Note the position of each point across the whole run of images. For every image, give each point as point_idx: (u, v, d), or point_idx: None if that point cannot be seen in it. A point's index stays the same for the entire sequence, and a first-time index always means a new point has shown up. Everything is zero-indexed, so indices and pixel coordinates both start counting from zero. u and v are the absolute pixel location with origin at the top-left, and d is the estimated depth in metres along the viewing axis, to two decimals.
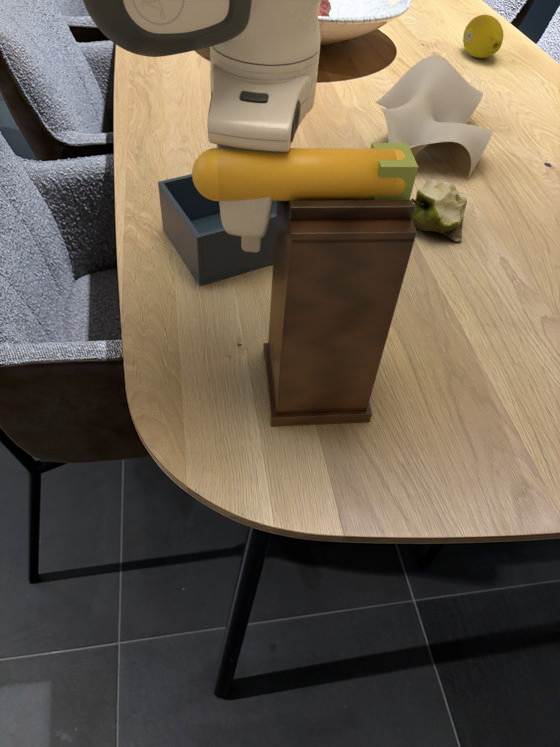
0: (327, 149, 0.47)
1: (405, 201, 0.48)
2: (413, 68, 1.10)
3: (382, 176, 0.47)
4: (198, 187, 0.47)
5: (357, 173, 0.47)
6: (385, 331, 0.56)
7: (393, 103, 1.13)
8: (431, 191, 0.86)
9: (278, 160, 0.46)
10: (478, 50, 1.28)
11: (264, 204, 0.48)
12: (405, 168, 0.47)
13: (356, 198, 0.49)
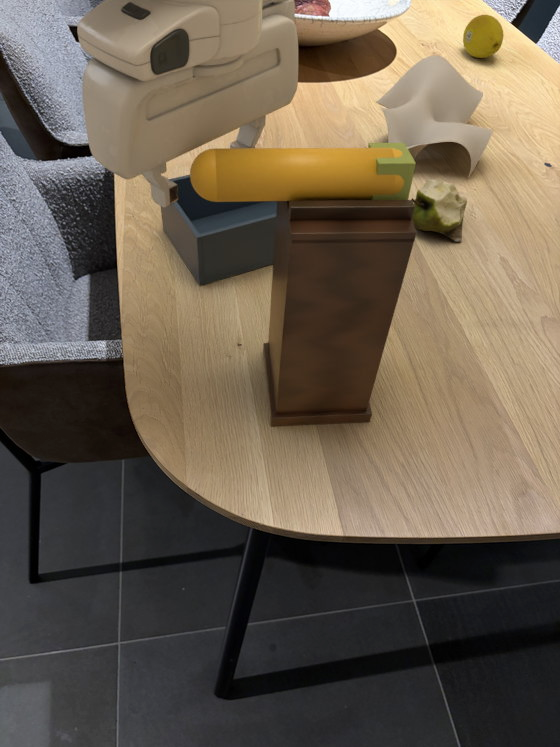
0: (324, 148, 0.47)
1: (405, 201, 0.48)
2: (413, 67, 1.10)
3: (380, 173, 0.47)
4: (197, 187, 0.47)
5: (356, 171, 0.47)
6: (385, 331, 0.56)
7: (393, 103, 1.13)
8: (431, 191, 0.86)
9: (276, 158, 0.46)
10: (478, 50, 1.28)
11: (116, 136, 0.42)
12: (403, 165, 0.47)
13: (355, 197, 0.48)
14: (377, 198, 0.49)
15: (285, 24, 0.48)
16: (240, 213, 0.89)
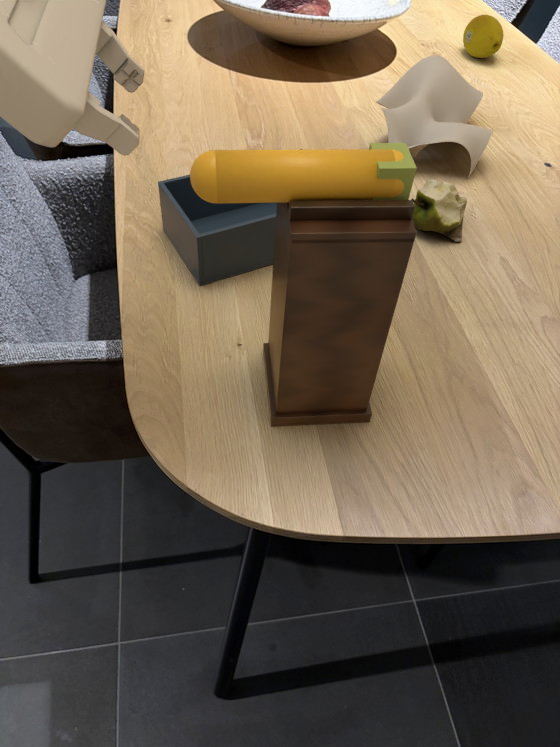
0: (325, 150, 0.47)
1: (405, 201, 0.48)
2: (413, 67, 1.10)
3: (381, 177, 0.47)
4: (197, 190, 0.47)
5: (356, 175, 0.47)
6: (385, 331, 0.56)
7: (393, 103, 1.13)
8: (431, 191, 0.86)
9: (277, 162, 0.46)
10: (478, 50, 1.28)
11: None
12: (404, 169, 0.47)
13: (355, 199, 0.48)
14: None
15: None
16: (240, 213, 0.89)
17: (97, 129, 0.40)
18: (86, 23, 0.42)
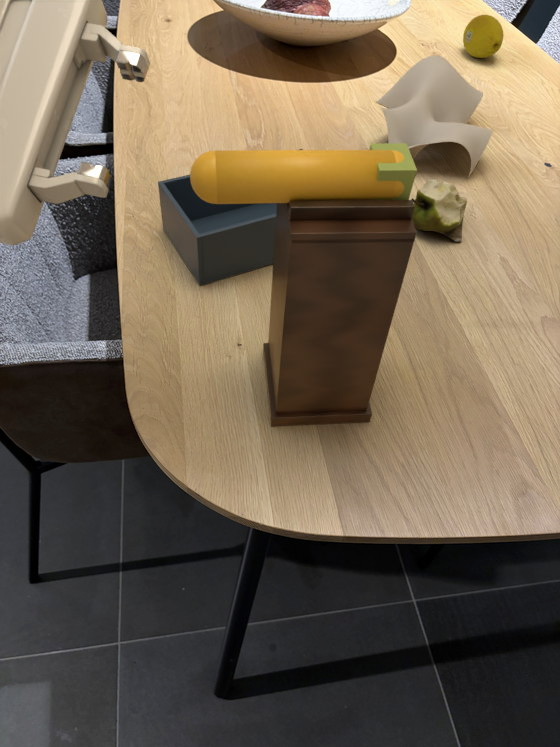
0: (326, 151, 0.47)
1: (405, 201, 0.48)
2: (413, 67, 1.10)
3: (381, 179, 0.47)
4: (197, 191, 0.47)
5: (356, 177, 0.47)
6: (385, 331, 0.56)
7: (393, 103, 1.13)
8: (431, 191, 0.86)
9: (277, 164, 0.46)
10: (478, 50, 1.28)
11: None
12: (404, 171, 0.47)
13: None
14: None
15: None
16: (240, 213, 0.89)
17: (63, 194, 0.41)
18: (43, 70, 0.41)
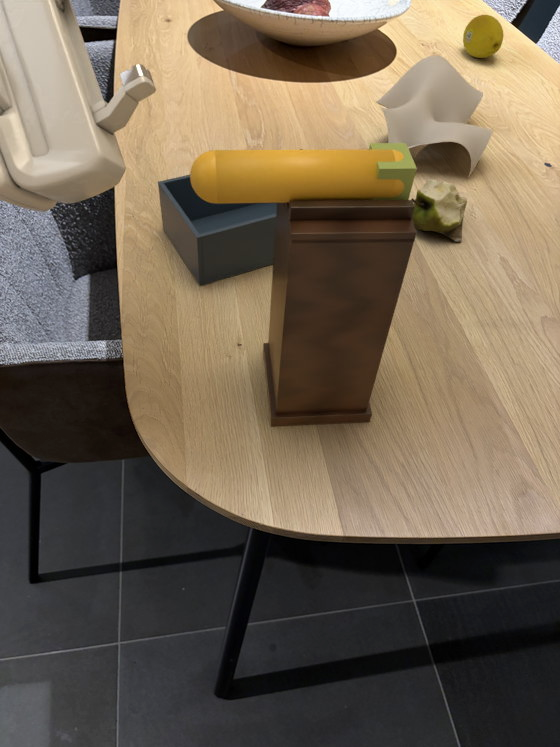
0: (325, 150, 0.47)
1: (405, 201, 0.48)
2: (413, 67, 1.10)
3: (381, 177, 0.47)
4: (197, 190, 0.47)
5: (356, 175, 0.47)
6: (385, 331, 0.56)
7: (393, 103, 1.13)
8: (431, 191, 0.86)
9: (277, 162, 0.46)
10: (478, 50, 1.28)
11: (63, 185, 0.44)
12: (404, 170, 0.47)
13: (355, 199, 0.48)
14: None
15: None
16: (240, 213, 0.89)
17: None
18: None
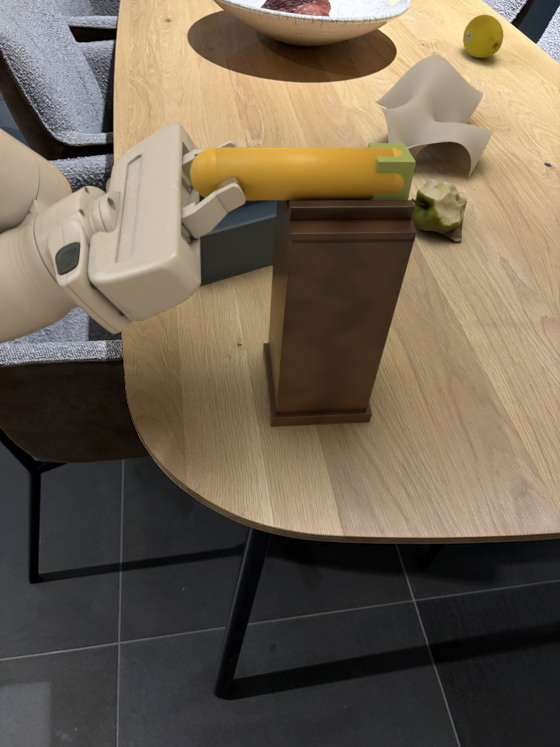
0: (324, 148, 0.48)
1: (405, 201, 0.48)
2: (413, 67, 1.10)
3: (380, 171, 0.47)
4: (196, 185, 0.47)
5: (355, 169, 0.47)
6: (385, 331, 0.56)
7: (393, 103, 1.13)
8: (431, 191, 0.86)
9: (276, 157, 0.46)
10: (478, 50, 1.28)
11: (132, 281, 0.42)
12: (403, 163, 0.47)
13: (355, 196, 0.48)
14: (377, 197, 0.48)
15: (112, 168, 0.54)
16: (240, 213, 0.89)
17: None
18: None
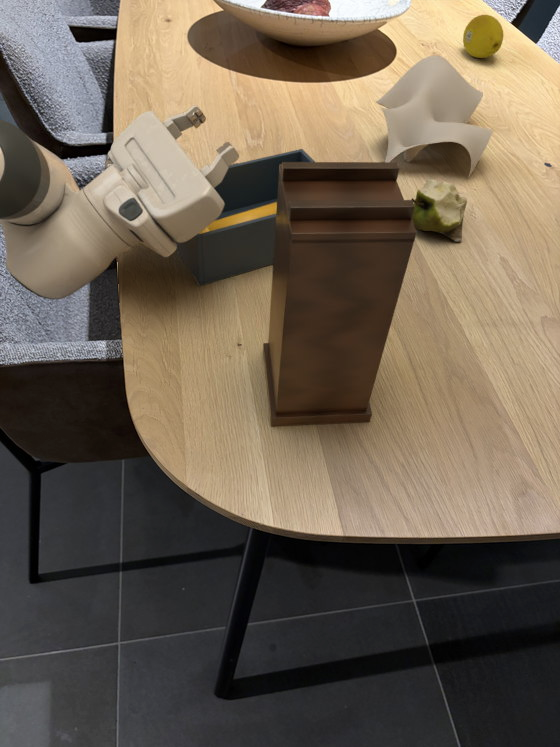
0: (262, 208, 0.83)
1: (405, 201, 0.48)
2: (413, 67, 1.10)
3: None
4: None
5: None
6: (385, 331, 0.56)
7: (393, 103, 1.13)
8: (431, 191, 0.86)
9: None
10: (478, 50, 1.28)
11: (187, 210, 0.65)
12: None
13: None
14: None
15: (112, 151, 0.75)
16: None
17: None
18: None
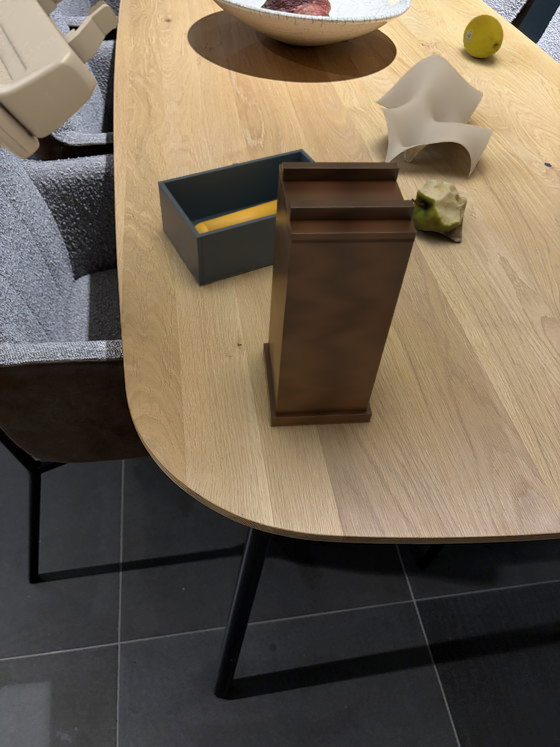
0: (258, 206, 0.83)
1: (405, 201, 0.48)
2: (413, 68, 1.10)
3: None
4: None
5: None
6: (385, 331, 0.56)
7: (393, 103, 1.13)
8: (431, 191, 0.86)
9: (238, 219, 0.81)
10: (478, 50, 1.28)
11: (38, 84, 0.48)
12: None
13: None
14: None
15: None
16: None
17: None
18: None
